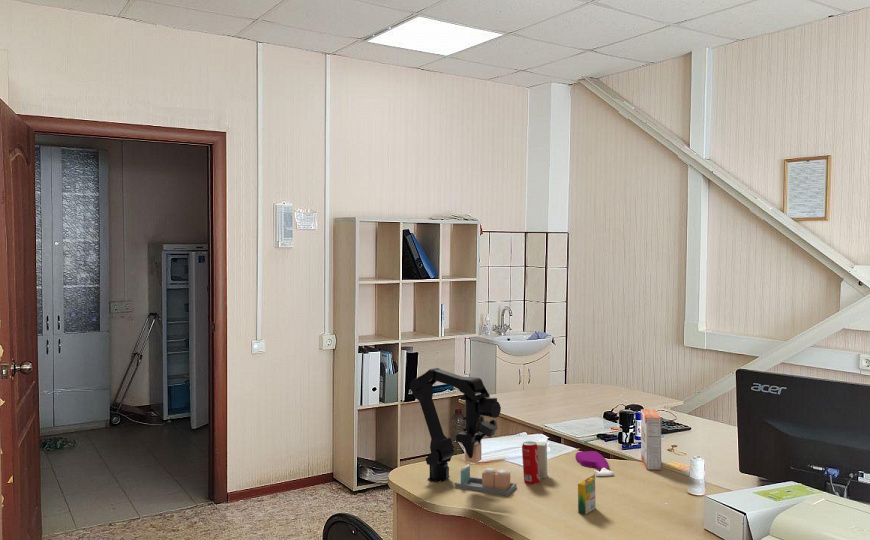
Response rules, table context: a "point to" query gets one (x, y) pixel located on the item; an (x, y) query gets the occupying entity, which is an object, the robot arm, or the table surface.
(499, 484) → the front jar
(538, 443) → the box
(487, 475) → the middle jar
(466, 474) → the pusher plate
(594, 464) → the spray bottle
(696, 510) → the table surface
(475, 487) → the tray
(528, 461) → the beverage can
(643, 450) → the cracker box
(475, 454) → the loose jar
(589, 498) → the crayon box
